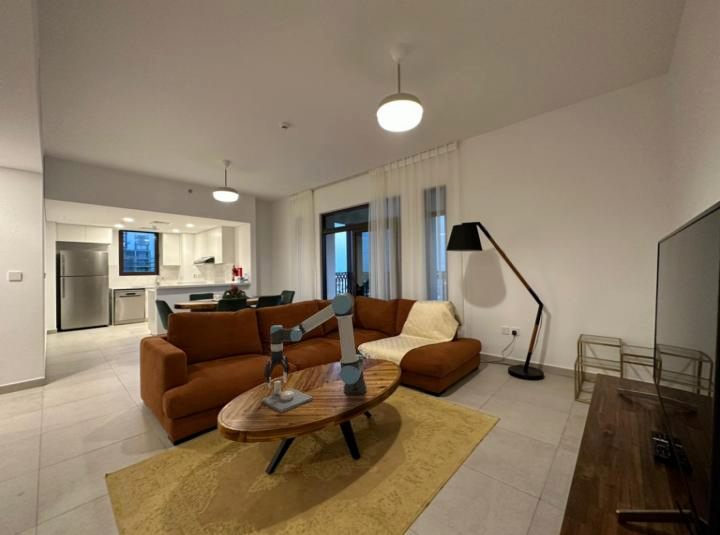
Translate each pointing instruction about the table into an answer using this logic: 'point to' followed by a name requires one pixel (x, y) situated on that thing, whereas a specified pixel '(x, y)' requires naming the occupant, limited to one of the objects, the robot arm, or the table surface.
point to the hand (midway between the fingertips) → (277, 385)
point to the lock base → (282, 405)
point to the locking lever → (283, 395)
